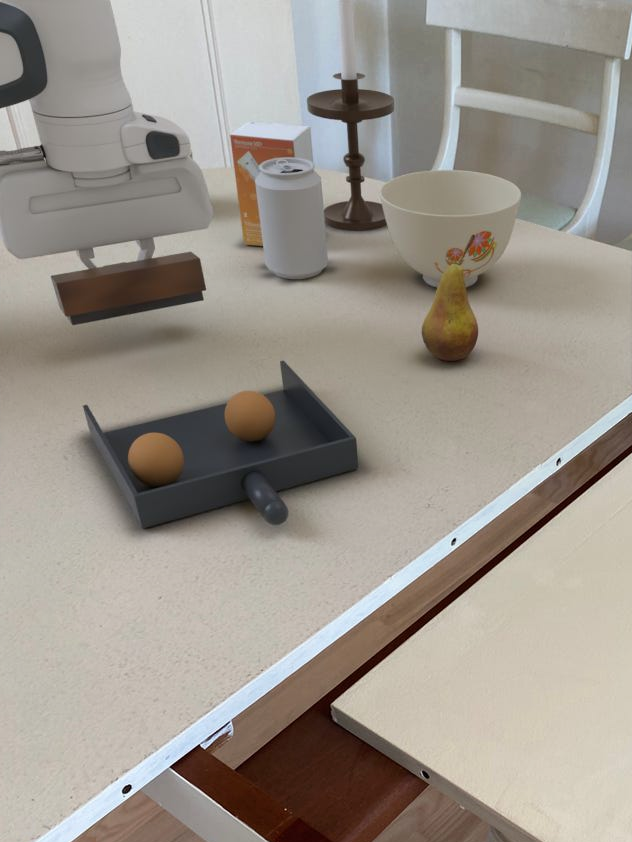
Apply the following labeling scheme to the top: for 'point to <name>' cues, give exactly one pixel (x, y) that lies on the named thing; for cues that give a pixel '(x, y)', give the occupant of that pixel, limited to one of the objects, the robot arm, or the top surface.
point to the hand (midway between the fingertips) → (124, 285)
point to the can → (292, 217)
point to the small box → (253, 149)
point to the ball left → (156, 459)
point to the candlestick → (351, 127)
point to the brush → (129, 287)
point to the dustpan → (233, 457)
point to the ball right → (249, 416)
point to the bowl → (450, 220)
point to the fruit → (451, 317)
